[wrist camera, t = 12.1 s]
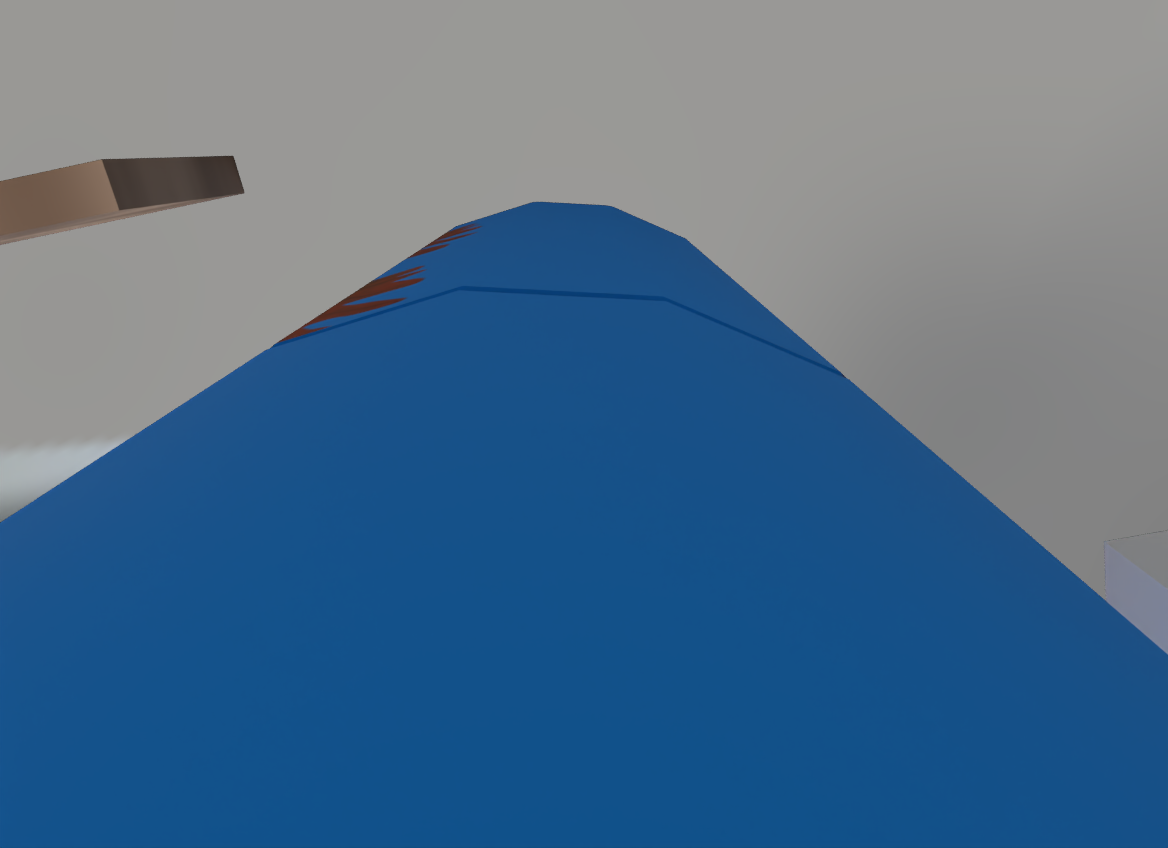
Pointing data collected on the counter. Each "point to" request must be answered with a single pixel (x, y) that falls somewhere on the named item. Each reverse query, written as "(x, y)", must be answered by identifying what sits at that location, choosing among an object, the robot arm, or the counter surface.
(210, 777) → the thermos
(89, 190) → the wooden frame
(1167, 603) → the robot arm
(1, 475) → the counter surface
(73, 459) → the counter surface
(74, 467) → the counter surface
